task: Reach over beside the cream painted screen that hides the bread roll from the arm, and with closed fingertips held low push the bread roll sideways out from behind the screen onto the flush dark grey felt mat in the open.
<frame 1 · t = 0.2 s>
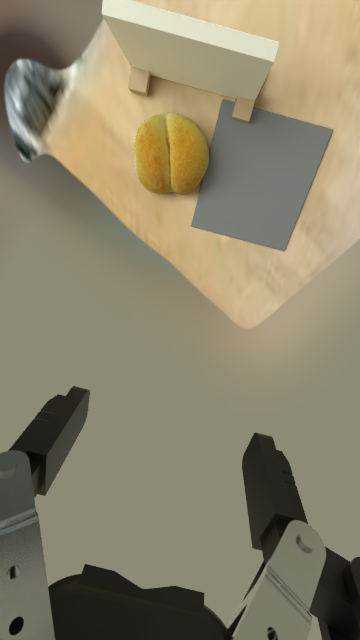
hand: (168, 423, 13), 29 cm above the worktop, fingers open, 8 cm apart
bread roll: (170, 159, 33), on the worktop, touching mat
mat: (256, 182, 33), on the worktop
screen: (195, 80, 30), on the worktop
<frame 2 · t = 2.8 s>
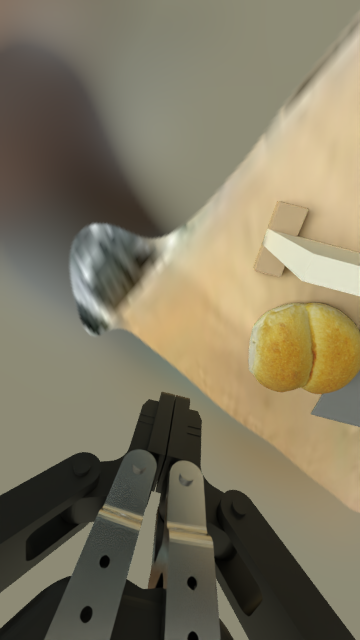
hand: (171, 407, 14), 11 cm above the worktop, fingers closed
bread roll: (296, 343, 24), on the worktop, touching mat
screen: (353, 259, 21), on the worktop
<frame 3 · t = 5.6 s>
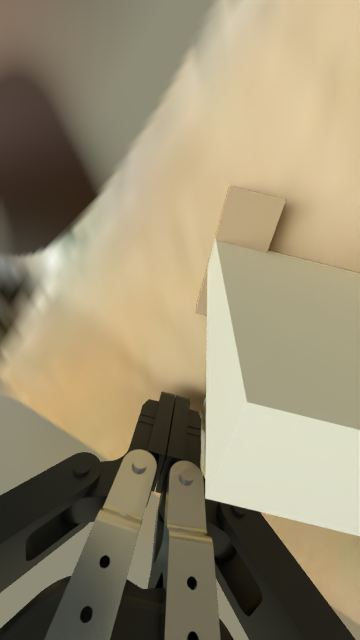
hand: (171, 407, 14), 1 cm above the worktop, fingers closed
bread roll: (277, 420, 15), on the worktop, touching gripper, mat
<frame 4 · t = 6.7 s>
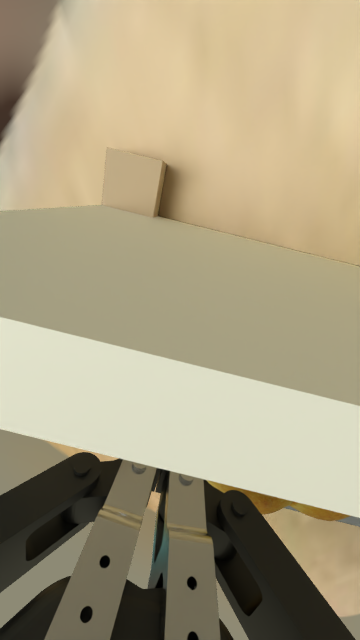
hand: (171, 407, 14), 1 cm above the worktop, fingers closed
bread roll: (276, 423, 15), on the worktop, touching mat
screen: (270, 259, 11), on the worktop
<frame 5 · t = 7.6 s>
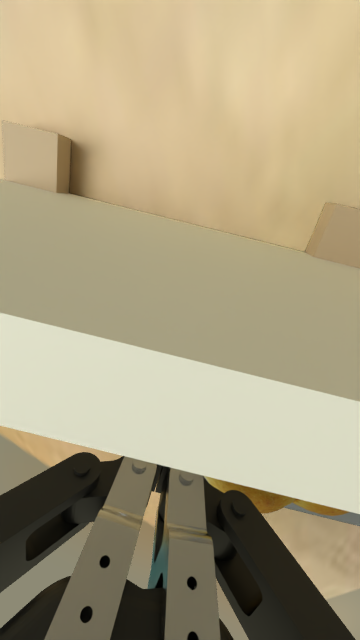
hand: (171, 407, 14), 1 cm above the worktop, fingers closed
bread roll: (276, 420, 15), resting on mat, touching gripper
mat: (328, 429, 15), on the worktop
screen: (183, 237, 11), on the worktop
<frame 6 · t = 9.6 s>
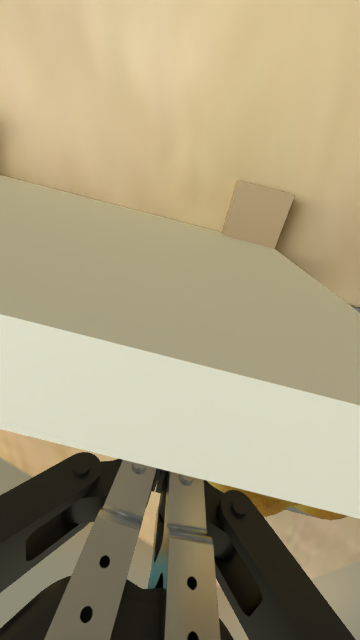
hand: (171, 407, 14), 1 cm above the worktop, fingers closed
bread roll: (275, 424, 15), resting on mat
screen: (102, 216, 11), on the worktop
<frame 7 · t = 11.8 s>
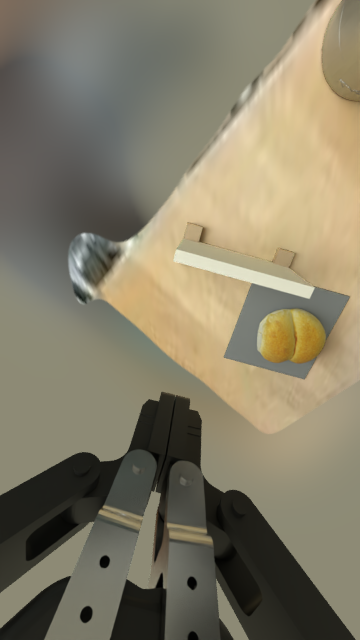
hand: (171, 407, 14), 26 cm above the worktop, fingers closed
bread roll: (286, 333, 39), resting on mat
mat: (282, 328, 39), on the worktop
screen: (234, 256, 35), on the worktop
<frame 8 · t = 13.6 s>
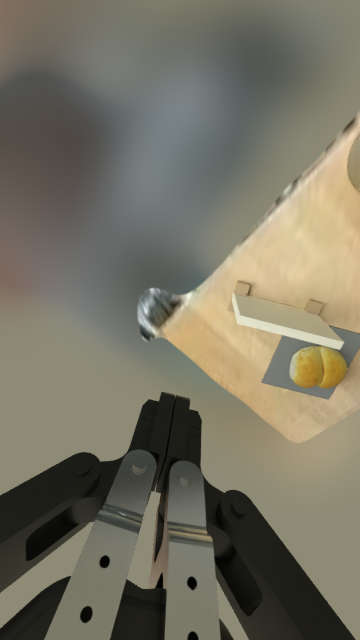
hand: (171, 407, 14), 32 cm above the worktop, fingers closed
bread roll: (313, 363, 48), resting on mat
mat: (310, 360, 48), on the worktop
screen: (273, 305, 44), on the worktop
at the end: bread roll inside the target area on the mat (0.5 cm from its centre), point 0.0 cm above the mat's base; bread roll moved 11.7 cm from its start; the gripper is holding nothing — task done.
